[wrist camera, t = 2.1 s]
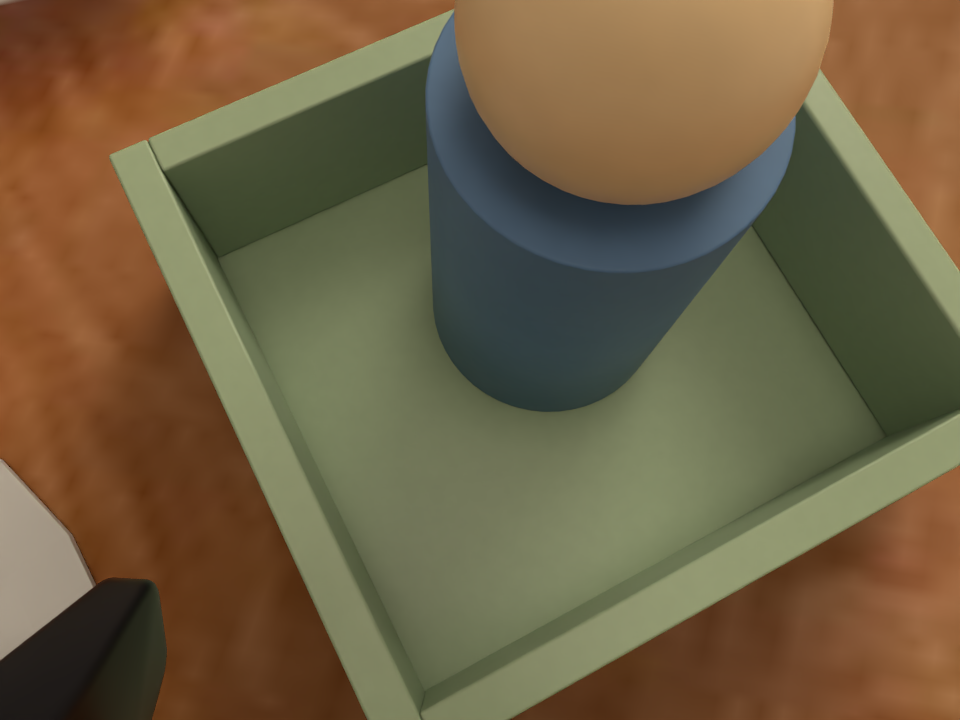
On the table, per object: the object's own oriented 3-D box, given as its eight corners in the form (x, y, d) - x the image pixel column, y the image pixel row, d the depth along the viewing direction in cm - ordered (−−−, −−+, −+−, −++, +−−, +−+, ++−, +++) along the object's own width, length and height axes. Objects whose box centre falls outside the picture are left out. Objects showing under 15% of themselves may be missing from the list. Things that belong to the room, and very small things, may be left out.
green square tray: (409, 739, 20) (395, 784, 15) (185, 260, 23) (106, 154, 18) (911, 458, 22) (1058, 410, 17) (650, 51, 25) (706, -100, 20)
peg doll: (498, 452, 21) (581, 205, 8) (394, 255, 22) (326, -225, 9) (699, 349, 22) (1053, -18, 9) (588, 164, 23) (765, -388, 10)
